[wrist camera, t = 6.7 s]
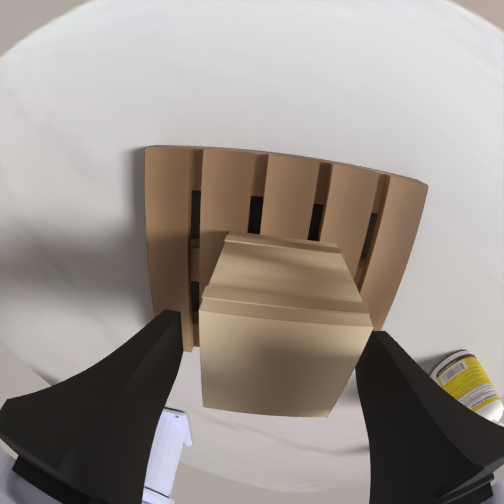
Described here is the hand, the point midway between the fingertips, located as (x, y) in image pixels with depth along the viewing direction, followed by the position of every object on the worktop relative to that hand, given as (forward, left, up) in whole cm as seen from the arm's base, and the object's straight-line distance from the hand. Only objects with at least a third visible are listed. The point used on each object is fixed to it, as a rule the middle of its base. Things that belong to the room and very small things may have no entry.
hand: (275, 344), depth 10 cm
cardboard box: (0, 0, -4) cm, 4 cm away
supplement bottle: (+18, -9, -6) cm, 21 cm away
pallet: (0, 0, -6) cm, 6 cm away
